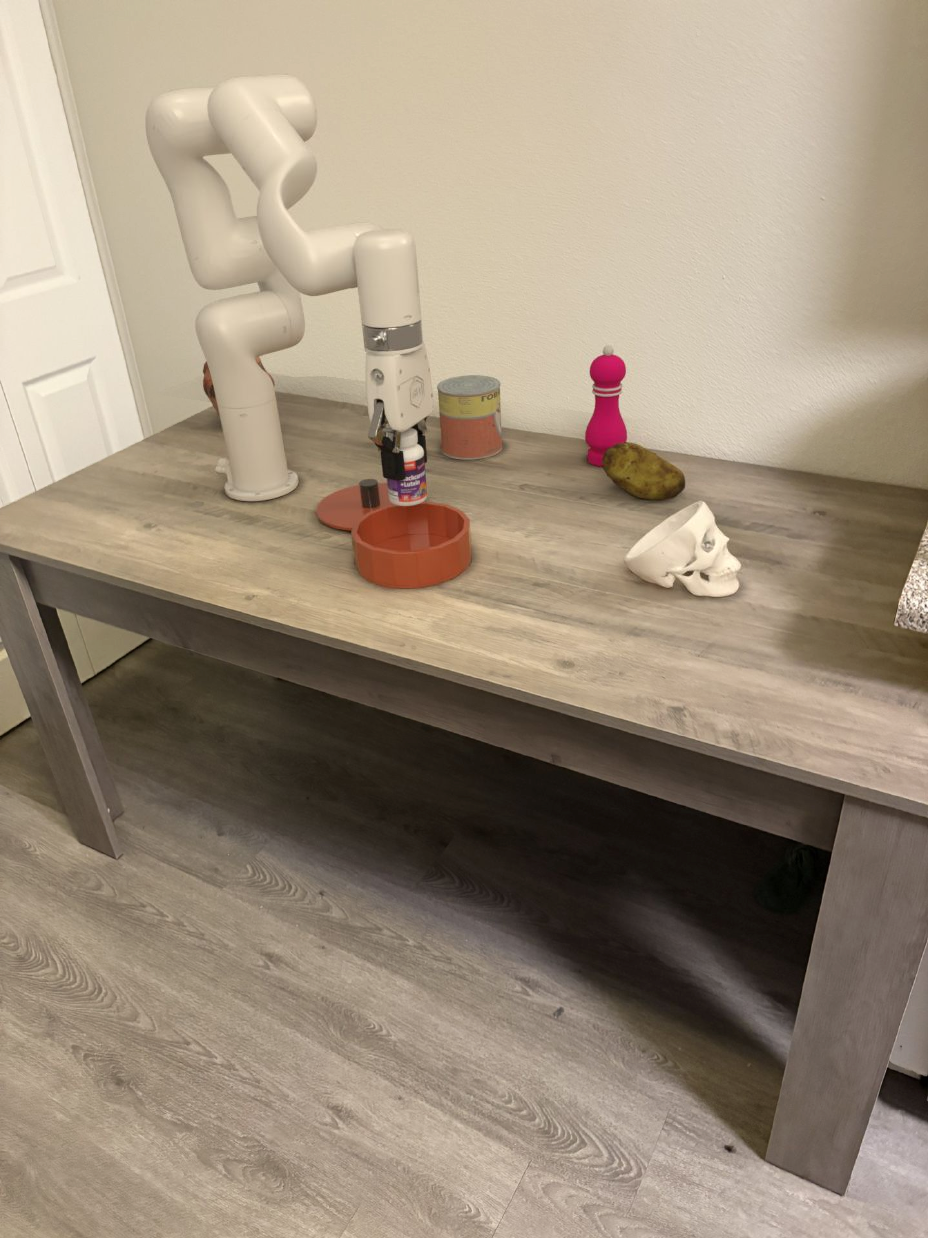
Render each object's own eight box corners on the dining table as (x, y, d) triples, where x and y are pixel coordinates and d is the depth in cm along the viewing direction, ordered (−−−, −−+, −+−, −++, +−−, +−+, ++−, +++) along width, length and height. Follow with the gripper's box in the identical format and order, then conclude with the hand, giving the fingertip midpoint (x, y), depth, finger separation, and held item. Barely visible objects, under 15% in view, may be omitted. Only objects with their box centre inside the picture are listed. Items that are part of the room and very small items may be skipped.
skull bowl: (745, 602, 115) (698, 519, 112) (650, 634, 124) (605, 558, 121) (762, 564, 123) (719, 486, 120) (672, 597, 131) (630, 524, 129)
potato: (660, 512, 142) (663, 464, 138) (593, 492, 150) (594, 446, 146) (690, 495, 147) (693, 447, 143) (623, 476, 155) (625, 431, 150)
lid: (295, 525, 145) (290, 496, 143) (353, 483, 159) (350, 456, 156) (392, 541, 138) (389, 512, 136) (444, 496, 152) (442, 468, 149)
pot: (334, 576, 130) (329, 541, 127) (392, 528, 142) (388, 495, 139) (439, 597, 123) (436, 560, 120) (489, 544, 136) (488, 510, 133)
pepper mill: (629, 454, 163) (634, 340, 153) (621, 469, 157) (626, 352, 147) (589, 451, 165) (591, 338, 155) (580, 466, 159) (581, 350, 149)
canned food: (503, 458, 165) (500, 392, 158) (440, 461, 165) (435, 395, 159) (501, 436, 174) (499, 373, 168) (442, 439, 175) (438, 376, 168)
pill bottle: (403, 510, 124) (397, 442, 119) (381, 499, 128) (373, 432, 123) (435, 498, 127) (430, 431, 122) (412, 488, 131) (406, 422, 126)
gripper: (384, 356, 108) (399, 498, 118) (449, 321, 121) (457, 451, 131) (331, 351, 111) (349, 490, 120) (399, 318, 124) (411, 445, 133)
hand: (405, 468), depth 125 cm, fingers closed on pill bottle, 5 cm apart
